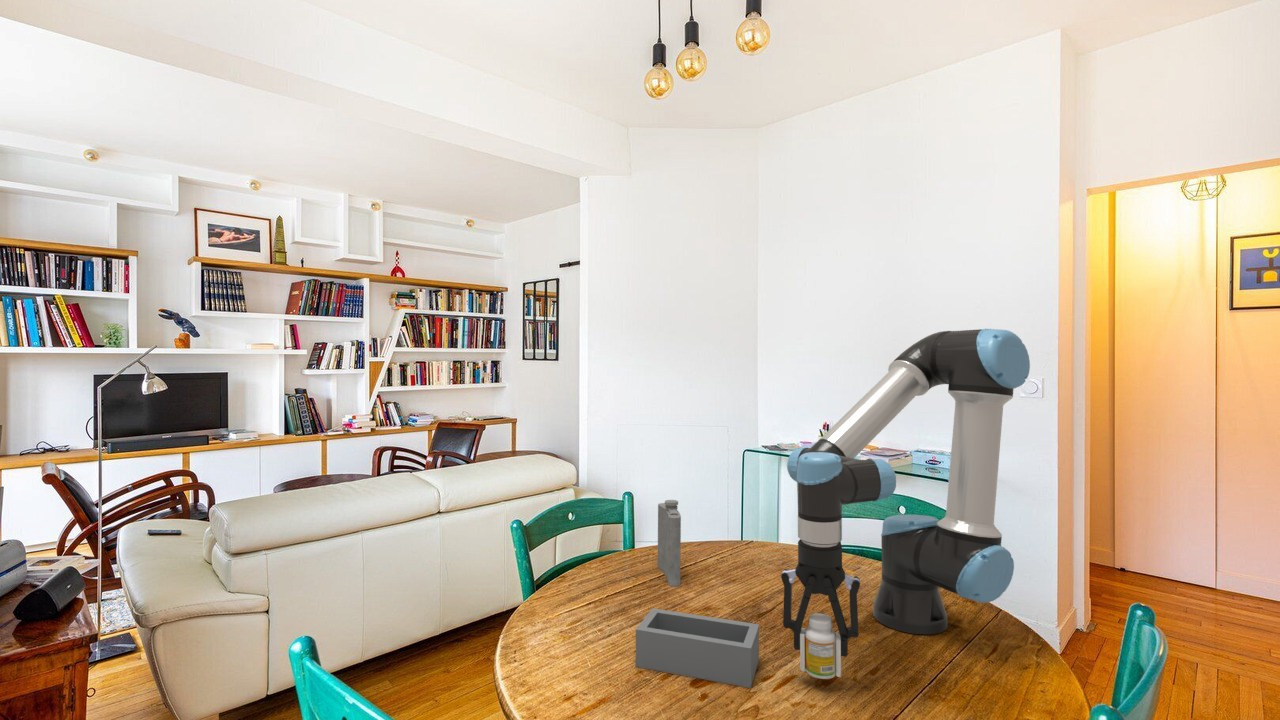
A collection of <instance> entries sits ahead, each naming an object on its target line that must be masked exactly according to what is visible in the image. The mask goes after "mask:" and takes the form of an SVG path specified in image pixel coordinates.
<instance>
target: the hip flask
mask: <svg viewBox="0 0 1280 720" xmlns="http://www.w3.org/2000/svg"><path fill="white" fill-rule="evenodd" d="M678 505H679V500H676V499H667V500H664V502H662V503H661V502H660V503H658V504H657V568H658V570H660V571H661V572H662V573H663V575H664V576H665V578H666V580H667V585H668V586H669V587H675V588H676V587H679V586H680V585H681V556H682V555H681V550H682V549H681V546H682V545H681V543H682V542H681V540H682V539H681V537H682V535H681V534H682V532H681V531H682V528H681V527H682V522H681V521H682V516H681V513H680V512H679V510H678Z"/></svg>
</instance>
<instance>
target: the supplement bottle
mask: <svg viewBox="0 0 1280 720" xmlns="http://www.w3.org/2000/svg"><path fill="white" fill-rule="evenodd" d="M836 633H837V632H835V630H834V629H833V618H832V616H830V615H828V614H827V613H826V614H825V613H819V612H817V613H811V614H810V615H809V616H808V627H806V628H805V672H806V673H807V674H808V675H809V676H811V677H813V678H814V679H815V678H816V679H820V680H830V679H832V678H834V677H836Z"/></svg>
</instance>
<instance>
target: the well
mask: <svg viewBox="0 0 1280 720" xmlns="http://www.w3.org/2000/svg"><path fill="white" fill-rule="evenodd" d="M634 660H635V661H634V662H635V668H640V669H647V670H652V671H656V672H662V673H666V674H667V673H668V674H673V675H679V676H683V677H689V678H695V679H699V680H700V679H701V680H704V681H705V680H707V681H710V682H716V683H722V684H725V685H726V684H728V685H733V686H736V687H737V686H738V687H743V688H748V689H752V685H753V681H754V678H755V677H756V673H757V668H758V664H759V662H760V624H758V623H752V622H745V621H739V620H732V619H725V618H720V617H711V616H705V615H698V614H692V613H687V612H686V613H684V612H681V611H680V612H679V611H672V610H665V609H659V608H653V607H652V608H651V609H650V610H649V612H648V613H647V615H646V616H645V617H644V618H643V620H642V621H641V622H640V623H639V625H638V626H637V627H636V628H635V659H634Z"/></svg>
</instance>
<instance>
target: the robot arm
mask: <svg viewBox="0 0 1280 720" xmlns="http://www.w3.org/2000/svg"><path fill="white" fill-rule="evenodd" d="M1030 368H1031V363H1030V355H1029V352H1028V350H1027V348H1026V345H1025V344H1024V342H1023V341H1022V339H1021V338H1020V336H1018V335H1017V334H1016V333H1014V332H1013V331H1011V330H1007V329H998V328H997V329H995V328H983V329H980V328H979V329H966V330H943V331H938V332H934V333H932V334H929V335H927V336H925V337H924V338H923V337H922V338H921V339H920V340H918V341H917V342H915V343H913V344H912V345H911V346H909V347H908V348H907V349H905V350H904V351H903V352H901V353H900V354H899V355H898V356H897V357H895V359H894V360H893V361H891V363H890V364H889V365H888V369H887V370H888V372H887V373H885V375H884V376H882V378H881V379H880V380H878V382H877V383H876V384H875V385H874V386H872V388H871V389H870V390H869V391H867V393H866V394H865V395H863V397H861V398H860V399H859V400H858V401H857V402H856V403H855V404H854V405H853V406H852V407H851V408H850V409H849V410H848V411H847V412H846V413H845V414H844V415H843V416H841V418H840V419H839V420H837V422H836V423H835V424H834V425H833V426H832V427H830V429H828V431H827V432H825V433H824V435H822V436H821V438H819V439H818V440H817V441H816V442H815V443H814V444H813V445H811V447H799V448H797V449H796V448H795V449H794V450H793V451H792V452H791V453H790V454H789V456H788V459H787V462H786V463H787V464H786V466H787V467H786V468H787V472H788V475H789V477H790V478H791V479H792V480H793V481H794V482H795V483H796V487H797V537H798V539H799V540H798V541H797V556H798V557H797V561H798V562H797V565H796V567H795V568H794V569H790V570H789V569H787V568H786V569H783V570H782V572H781V576H780V578H781V581H782V584H783V587H784V588H783V590H784V591H783V613H782V615H783V617H782V618H783V620H782V623H783V624H782V626H783V627H784V628H785V629H789V630H791V631H792V632H793V647H794V648H793V649H794V650H797V651H799V652H800V653H799V658H800V659H799V662H800V663H799V666H800V668H799V669H800V672H806V669H805V630H806V628H803V627H802V626H803V624H804V620H805V617H806V613H807V611H808V607H809V603H810V600H811V596H812V595H818V594H821V595H823V596H828V600H829V602H830V606H831V609H832V613H833V617H834V618H835V619H834V620H835V623H836V626H837V629H838V632H835V633H836V675H835V677H838V678H842V657H843V658H844V657H845V658H847V656H848V655H849V648H848V647H849V644H848V642H849V639H850V638H857V637H859V616H858V615H859V614H858V613H859V612H858V593H859V589H860V587H861V580H860V577H858V576H857V575H855V576H851V575H848V574H846V572H845V570H844V568H843V545H842V543H841V542H842V540H843V538H842V537H843V536H842V535H843V533H842V532H843V531H842V529H843V523H842V522H843V515H842V513H843V506H844V505H852V504H853V505H854V504H859V503H868V502H877V501H880V500H883V499H888V498H889V497H891V496H892V495H893V494H894V493H895V492H896V491H895V490H896V488H897V475H896V472H895V470H894V468H893V467H892V465H891V464H890V463H889V462H887V461H886V460H884V459H881V458H870V457H869V458H866V459H860V458H859V459H858V458H856V457H857V456H858V455H859V454H860V453H861V452H862V451H863V450H864V449H865V448H866V447H867V446H868V445H869V444H870V443H871V442H872V441H874V439H875V438H876V437H877V435H879V434H880V433H881V432H882V431H883V430H884V429H885V428H886V427H887V426H888V425H889V424H890V423H891V422H892V421H893V420H894V419H895V418H896V417H897V416H898V414H900V413H901V412H902V410H904V409H905V407H907V406H908V405H909V404H910V403H911V402H912V401H913V399H914V398H915V397H919V396H924V395H925V394H926V393H927V392H928V391H929V390H930V389H932V388H934V387H937V386H942V385H948V389H947V393H948V394H949V395H950V396H951V397H952V398H953V399H954V401H955V402H954V403H955V404H954V414H953V415H954V417H953V426H952V427H953V428H952V436H951V437H952V439H951V450H950V460H949V461H950V462H949V473H948V474H949V475H948V485H947V486H948V487H947V497H946V498H947V499H946V507H945V508H946V512H945V516H944V517H943V518H942V519H940V520H939V519H938V518H937V517H935V516H930V515H923V514H897V515H890V516H888V517H886V518H885V519H884V520H883V521H882V529H881V535H880V536H881V581H880V585H879V587H878V590H877V592H876V596H875V598H874V601H873V603H872V605H873V607H872V608H873V609H872V613H873V617H874V619H875V620H876V621H877V622H878V623H880V624H882V625H884V626H885V627H888V628H890V629H893V630H896V631H899V632H904V633H908V634H915V635H925V636H926V635H937V634H940V633H941V634H942V633H943V632H945V631H946V630H947V629H948V615H947V612H946V611H947V610H946V608H945V605H944V602H943V599H942V595H941V592H940V588H941V589H943V590H946V591H948V592H951V593H954V594H956V595H958V596H959V597H961V598H963V599H966V600H967V599H969V600H971V601H974V602H977V603H981V604H982V603H983V604H985V603H990V602H994V601H996V600H997V599H999V598H1000V597H1001V596H1002V595H1003V594H1004V592H1006V591H1007V589H1008V588H1009V586H1010V584H1011V582H1012V580H1013V576H1014V572H1015V571H1014V569H1015V561H1014V558H1013V557H1012V554H1011V552H1010V551H1009V550H1008V549H1007V548H1006V547H1005V546H1002V537H1003V536H1002V532H1000V531H999V529H998V528H997V527H996V526H995V514H996V513H995V512H996V500H997V499H996V497H997V488H998V475H999V465H1000V464H999V463H1000V450H1001V440H1002V439H1001V437H1002V426H1003V415H1004V414H1003V413H1004V412H1003V411H1004V406H1005V405H1006V404H1007V403H1008V402H1009V401H1011V400H1012V399H1013V398H1014V390H1015V389H1016V388H1020V387H1022V386H1023V384H1025V382H1026V379H1028V377H1029V374H1030ZM796 577H797V578H798V580H799V581H800V583H801V584H802V586H803V587H804V590H803V594H802V597H801V600H800V603H799V607H798V609H797V614H796V617H795V620H794V619H793V618H792V609H793V608H792V605H793V604H792V602H793V583H795V581H796V580H795V579H796ZM843 582H844V583H845V587H846V589H847V590H849V612H850V613H849V615H850V616H849V617H850V626H847V624H846V621H845V617H844V614H843V610H842V606H841V603H840V601H839V597H838V592H837V590H838V588H839V587H840V585H842V583H843Z"/></svg>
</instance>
